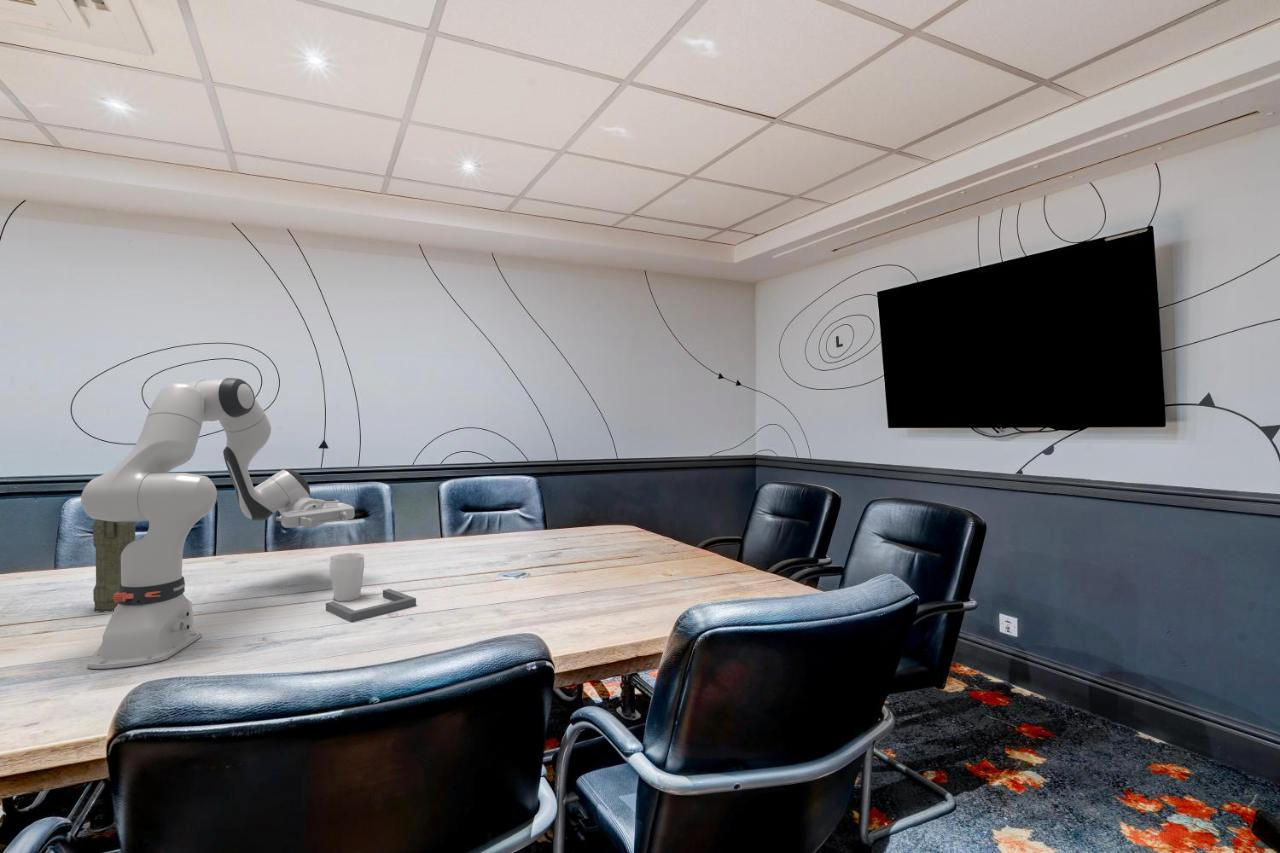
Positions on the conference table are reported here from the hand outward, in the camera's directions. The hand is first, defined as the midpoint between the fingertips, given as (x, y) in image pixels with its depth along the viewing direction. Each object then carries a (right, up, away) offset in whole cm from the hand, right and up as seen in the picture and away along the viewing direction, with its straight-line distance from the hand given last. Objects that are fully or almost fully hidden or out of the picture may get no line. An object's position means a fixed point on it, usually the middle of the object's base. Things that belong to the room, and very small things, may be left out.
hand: (329, 520), depth 184 cm
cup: (+8, -22, -6) cm, 24 cm away
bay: (+19, -22, -15) cm, 33 cm away
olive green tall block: (-51, -22, -15) cm, 57 cm away
